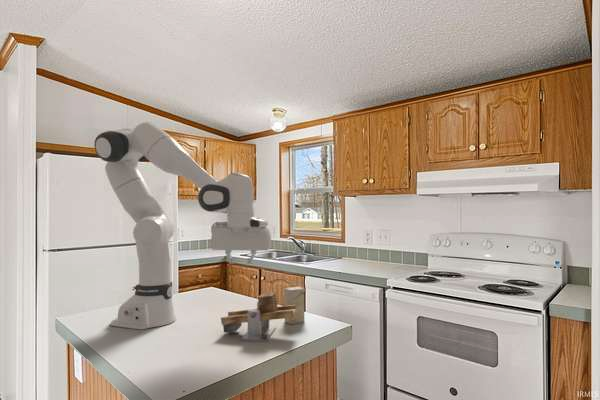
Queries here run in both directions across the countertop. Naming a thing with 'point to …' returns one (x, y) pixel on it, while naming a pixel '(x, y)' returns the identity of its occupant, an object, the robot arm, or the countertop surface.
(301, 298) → the skincare box
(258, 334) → the pivot stand
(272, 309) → the block
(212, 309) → the countertop surface
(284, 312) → the beam
